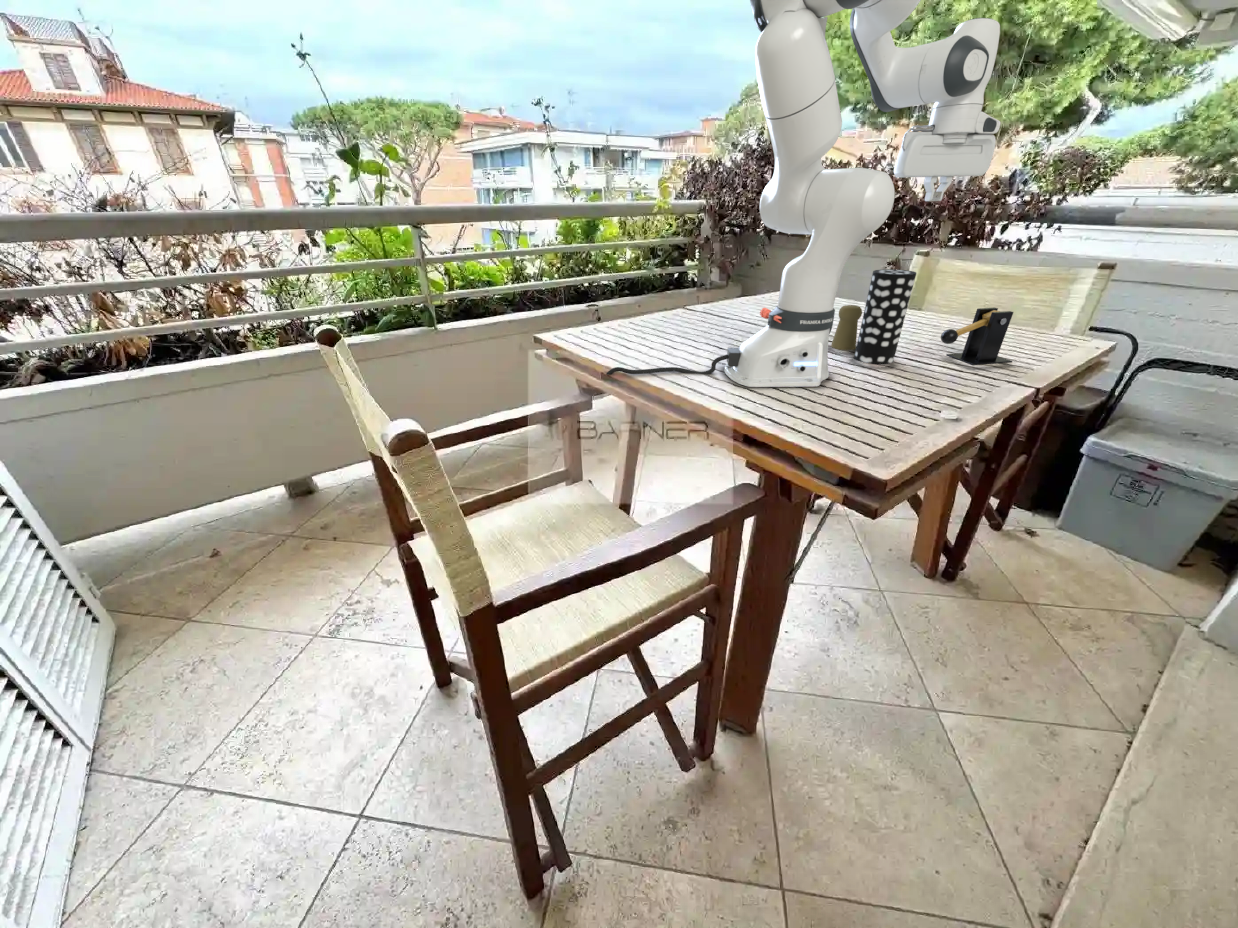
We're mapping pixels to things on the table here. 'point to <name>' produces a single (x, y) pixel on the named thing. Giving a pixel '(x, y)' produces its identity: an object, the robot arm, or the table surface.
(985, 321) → the latch lever
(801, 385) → the robot arm
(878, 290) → the white-spotted black cylinder
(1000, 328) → the bracket
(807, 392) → the table surface
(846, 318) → the cork
